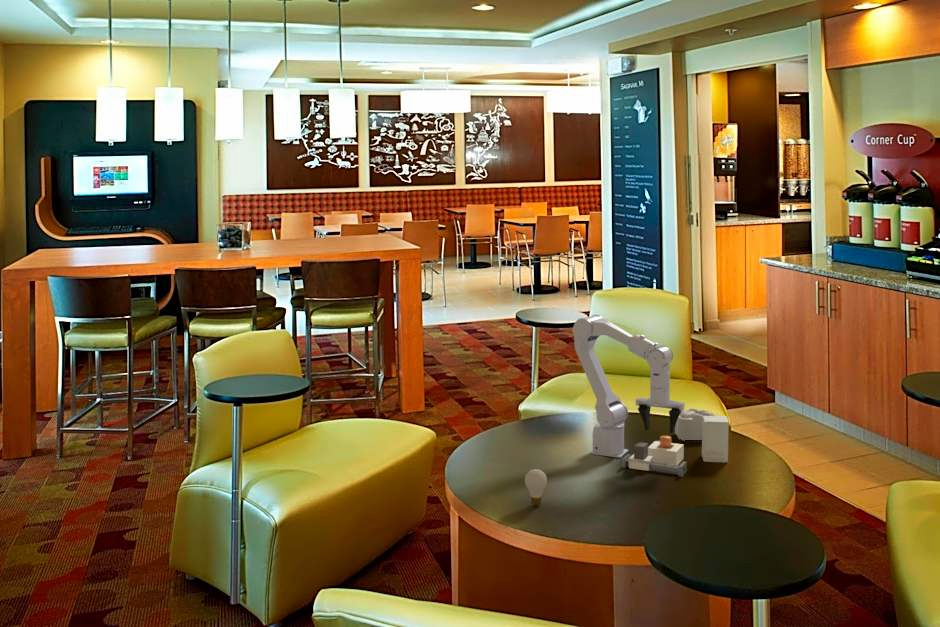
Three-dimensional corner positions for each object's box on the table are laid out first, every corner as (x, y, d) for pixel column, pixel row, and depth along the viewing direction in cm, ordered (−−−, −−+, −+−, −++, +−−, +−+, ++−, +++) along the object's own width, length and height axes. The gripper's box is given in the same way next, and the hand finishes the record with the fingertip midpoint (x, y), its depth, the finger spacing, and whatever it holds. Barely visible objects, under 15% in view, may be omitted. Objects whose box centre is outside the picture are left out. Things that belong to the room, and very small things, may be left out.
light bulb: (532, 500, 237) (531, 464, 235) (551, 504, 233) (550, 468, 232) (521, 507, 232) (520, 470, 230) (540, 511, 229) (539, 474, 227)
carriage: (628, 468, 260) (628, 445, 259) (633, 463, 264) (633, 441, 263) (648, 470, 257) (648, 447, 256) (653, 466, 261) (653, 443, 260)
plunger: (658, 453, 266) (658, 438, 265) (661, 450, 269) (661, 435, 268) (669, 455, 264) (669, 439, 264) (672, 452, 267) (672, 436, 267)
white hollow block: (647, 462, 266) (647, 447, 265) (654, 454, 273) (655, 440, 272) (676, 466, 262) (676, 451, 261) (683, 458, 268) (683, 444, 268)
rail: (622, 468, 261) (622, 458, 260) (627, 463, 265) (627, 453, 265) (681, 476, 252) (682, 466, 252) (686, 471, 257) (686, 461, 256)
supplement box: (728, 463, 264) (729, 422, 262) (702, 462, 265) (703, 421, 263) (726, 455, 271) (727, 415, 269) (701, 454, 272) (702, 415, 270)
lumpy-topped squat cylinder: (673, 432, 297) (673, 407, 295) (712, 431, 296) (712, 406, 295) (679, 441, 286) (679, 415, 285) (719, 440, 286) (720, 415, 285)
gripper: (632, 387, 262) (632, 431, 264) (679, 392, 255) (679, 437, 257) (640, 382, 268) (639, 425, 270) (686, 386, 261) (686, 431, 263)
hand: (659, 430), depth 264 cm, fingers open, 7 cm apart
